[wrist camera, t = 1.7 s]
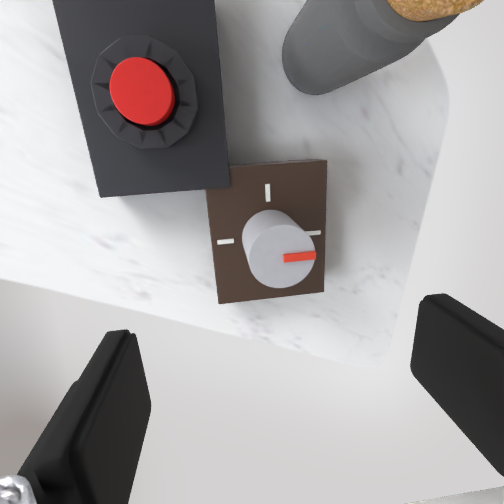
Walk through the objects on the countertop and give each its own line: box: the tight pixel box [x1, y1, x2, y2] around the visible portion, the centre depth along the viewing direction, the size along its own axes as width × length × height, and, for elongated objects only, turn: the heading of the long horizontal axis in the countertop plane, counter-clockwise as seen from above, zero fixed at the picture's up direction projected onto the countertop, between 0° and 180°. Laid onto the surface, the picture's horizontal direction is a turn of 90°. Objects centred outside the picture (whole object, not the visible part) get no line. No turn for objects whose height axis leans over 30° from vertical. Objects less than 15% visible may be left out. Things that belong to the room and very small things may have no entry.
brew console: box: [205, 159, 327, 304], centre depth 27 cm, size 12×10×3 cm
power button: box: [110, 57, 175, 126], centre depth 19 cm, size 4×4×2 cm
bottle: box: [282, 0, 483, 95], centre depth 17 cm, size 6×6×15 cm
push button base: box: [52, 0, 230, 198], centre depth 21 cm, size 13×10×5 cm
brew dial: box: [242, 210, 316, 288], centre depth 23 cm, size 5×5×5 cm
